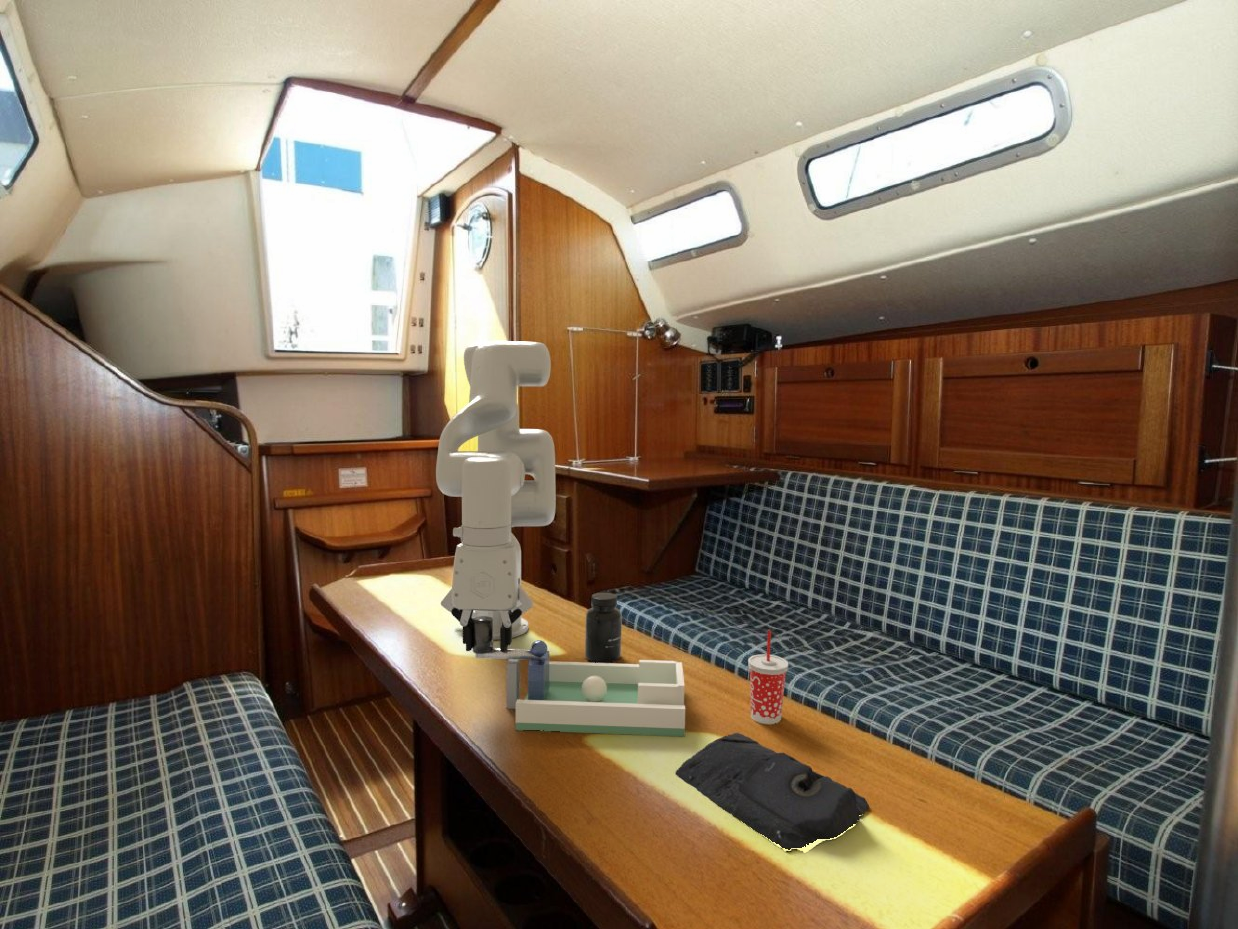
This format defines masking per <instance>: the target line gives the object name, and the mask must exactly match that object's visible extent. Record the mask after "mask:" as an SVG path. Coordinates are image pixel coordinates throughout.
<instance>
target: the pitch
mask: <svg viewBox="0 0 1238 929" xmlns="http://www.w3.org/2000/svg"><path fill="white" fill-rule="evenodd" d="M507 660H508V661H507V662H506V667H505V668H506V672H505V673H506V682H505V683H506V689H505V690H506V693H505V694H506V709H508V710H509V709H510V710H511V709H512V710H514V709H515V731H523V730H540V731H539V732H551V731H560V732H559V733H577V734H578V733H582V734H608V735H609V734H610V735H611V734H612V735H635V736H637V735H638V736H662V737H666V736H667V737H685V736H686V734H685V732H686V705H685V678H684V670H683V662H681V661H680V662H678V661H676V660H658V659H657V660H656V659H655V660H654V659H638V663H616V662H612V663H595V662H586V661H585V662H582V661H581V662H579V661H578V662H577V661H554V660H553V661H550V660H549V691H548V694H547V697H546V700H528V692H527V694H526V696H525V698H524V699H520V659H507ZM590 676H599V677H601V678H602V679H603V680H604V681H605V683H606V686H607V692H606V695H605V696H604V698H603V699H602V700H600V701H598V702H590V701H588V700H587V699H585V697H584V696H583V694H582V684H583V682H584V681H585V679H587V678H588V677H590ZM543 730H544V731H543Z"/></svg>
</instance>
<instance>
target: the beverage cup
mask: <svg viewBox="0 0 1238 929" xmlns="http://www.w3.org/2000/svg"><path fill="white" fill-rule="evenodd" d="M771 638H772V631H771V629H767V642H766V654H755V655H751V656H750V657H748V659H747V661H748V663H747V664H748V665H747V666H748V668H749V680H750V681H749V684H750V685H749V687H750V688H749V689H750V693H749V694H750V717H751V719H752V720H754V721H755V722H757V723H759V724H763V725H776V724H779V723H780V722H781V721H780V720H782V712H783V702H784V695H785V694H784V692H785V684H786V676H787V675H786V674H787V672H788V670H789V662H788V660H786V659H785V658H782V657H780V656H778V655H772V654H771ZM779 721H780V722H779ZM778 722H779V723H778ZM775 723H776V724H775Z"/></svg>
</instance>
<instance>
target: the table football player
mask: <svg viewBox="0 0 1238 929" xmlns="http://www.w3.org/2000/svg"><path fill="white" fill-rule="evenodd" d="M472 641H473V648H472V652H473V653H474V654H475V655H474V656H475V659H495V660H496V659H497V660H498V659H499V660H509V659H519V660H522V661H525V660H526V661H527V660H528V661H529V663H528V665H527V673H528V674H527V693H528V700H546V697H547V694H548V691H549V661H550V651H549V650H548V645H547V643H546V642H545V641H544V640H535V641H534V642H532V644H531V646H530V649H529V648H507V649H506V651H505V652H501V651H500V647H499V648H498V647H494V640H493V618H492V617H488V616H480V617H476V618H473V619H472Z"/></svg>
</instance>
